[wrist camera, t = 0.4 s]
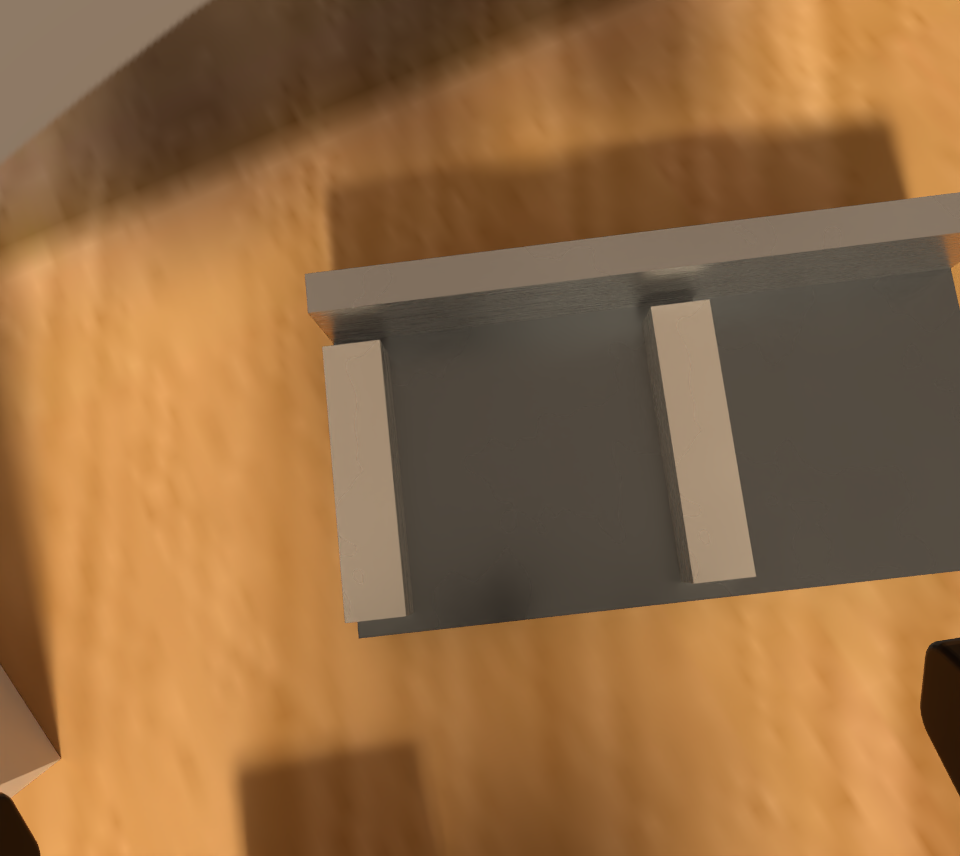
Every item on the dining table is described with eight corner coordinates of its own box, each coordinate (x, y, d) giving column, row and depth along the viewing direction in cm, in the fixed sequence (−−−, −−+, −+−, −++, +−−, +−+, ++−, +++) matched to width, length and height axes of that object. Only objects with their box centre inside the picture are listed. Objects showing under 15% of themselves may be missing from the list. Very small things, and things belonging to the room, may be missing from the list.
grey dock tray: (989, 564, 22) (1093, 564, 18) (367, 634, 22) (334, 649, 18) (921, 250, 23) (1004, 186, 19) (340, 322, 24) (305, 274, 20)
